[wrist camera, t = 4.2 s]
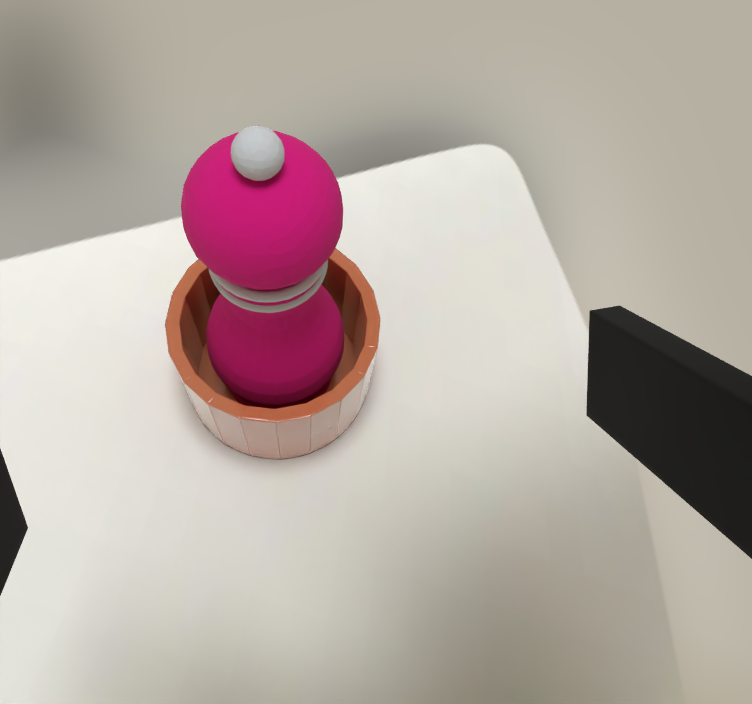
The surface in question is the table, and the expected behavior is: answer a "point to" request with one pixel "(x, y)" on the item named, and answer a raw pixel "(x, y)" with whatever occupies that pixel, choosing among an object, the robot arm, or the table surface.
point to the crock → (288, 424)
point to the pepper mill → (267, 264)
